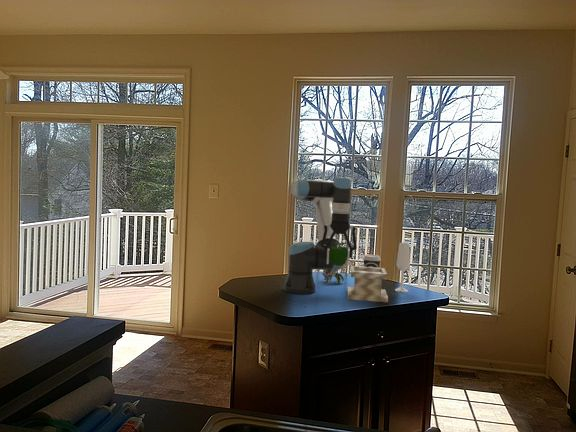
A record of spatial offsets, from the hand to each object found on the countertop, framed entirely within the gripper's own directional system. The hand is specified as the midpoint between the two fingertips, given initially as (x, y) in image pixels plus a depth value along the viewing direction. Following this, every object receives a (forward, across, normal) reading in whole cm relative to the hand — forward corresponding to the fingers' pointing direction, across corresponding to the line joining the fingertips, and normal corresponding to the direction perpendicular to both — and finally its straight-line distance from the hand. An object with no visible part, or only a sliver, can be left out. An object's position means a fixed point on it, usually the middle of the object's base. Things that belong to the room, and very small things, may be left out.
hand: (337, 264), depth 201 cm
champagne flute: (+17, +32, +34) cm, 50 cm away
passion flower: (+17, -3, +43) cm, 47 cm away
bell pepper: (0, 0, 0) cm, 1 cm away
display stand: (+17, +14, +16) cm, 27 cm away
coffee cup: (+17, +17, +46) cm, 53 cm away
